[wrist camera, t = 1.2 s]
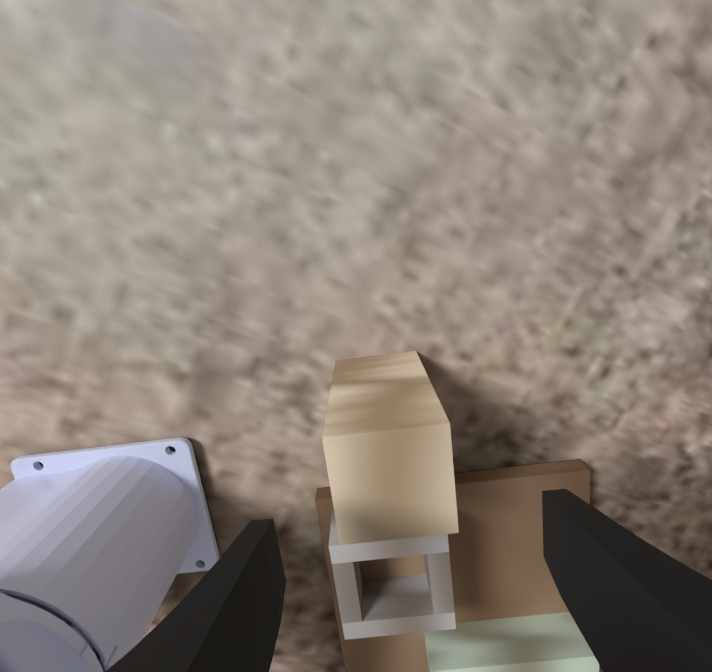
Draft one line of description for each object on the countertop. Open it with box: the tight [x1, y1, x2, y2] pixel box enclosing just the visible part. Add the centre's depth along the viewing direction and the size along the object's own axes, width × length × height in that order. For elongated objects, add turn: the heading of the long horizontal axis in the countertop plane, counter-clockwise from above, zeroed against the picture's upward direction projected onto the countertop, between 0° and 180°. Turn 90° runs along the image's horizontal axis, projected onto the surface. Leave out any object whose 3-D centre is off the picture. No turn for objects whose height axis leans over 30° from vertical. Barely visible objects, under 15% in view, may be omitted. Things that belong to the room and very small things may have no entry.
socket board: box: [315, 459, 599, 672], centre depth 23 cm, size 14×20×4 cm
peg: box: [322, 351, 459, 545], centre depth 17 cm, size 4×4×8 cm
